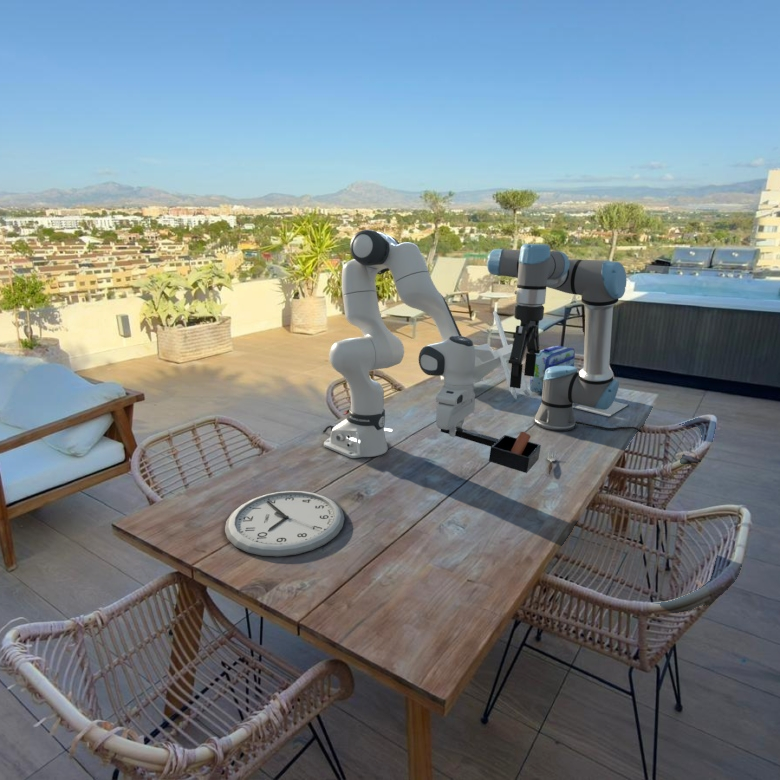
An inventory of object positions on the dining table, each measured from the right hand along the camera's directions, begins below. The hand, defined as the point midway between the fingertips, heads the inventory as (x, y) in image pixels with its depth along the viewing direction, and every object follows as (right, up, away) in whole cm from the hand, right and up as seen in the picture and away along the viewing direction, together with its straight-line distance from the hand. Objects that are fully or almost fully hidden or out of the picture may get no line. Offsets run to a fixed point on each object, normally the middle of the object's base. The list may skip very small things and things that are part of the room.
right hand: (522, 381), depth 145 cm
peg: (0, -21, +7) cm, 22 cm away
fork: (+15, -27, +24) cm, 39 cm away
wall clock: (-64, -36, -10) cm, 74 cm away
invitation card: (+55, -10, +81) cm, 99 cm away
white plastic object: (+5, -4, +98) cm, 99 cm away
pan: (-8, -21, +11) cm, 25 cm away
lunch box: (+39, -3, +102) cm, 110 cm away
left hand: (-17, -16, +15) cm, 28 cm away
